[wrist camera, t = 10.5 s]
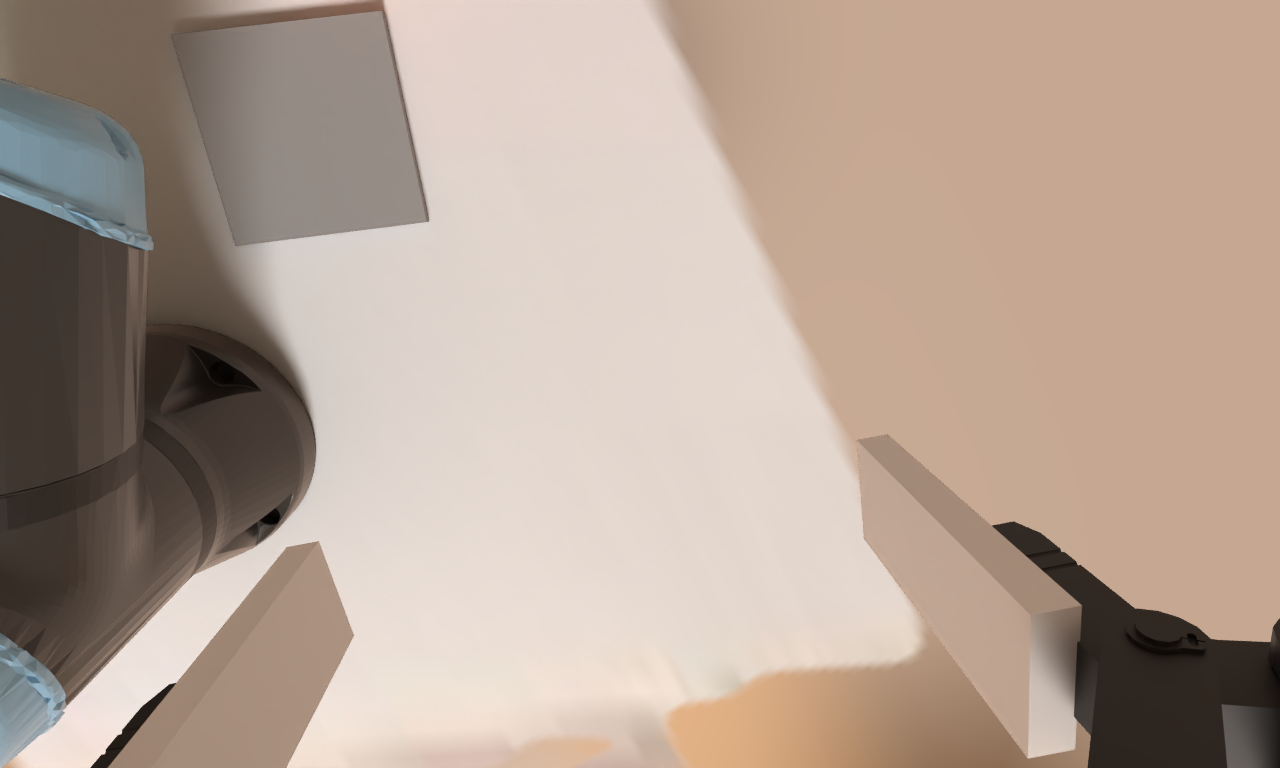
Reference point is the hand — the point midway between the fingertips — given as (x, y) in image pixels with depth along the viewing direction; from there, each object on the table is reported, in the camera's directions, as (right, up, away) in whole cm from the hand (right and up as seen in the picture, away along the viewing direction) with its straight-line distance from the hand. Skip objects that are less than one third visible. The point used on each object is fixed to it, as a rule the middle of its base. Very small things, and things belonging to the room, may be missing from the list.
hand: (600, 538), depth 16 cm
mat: (-18, +18, +21) cm, 33 cm away
